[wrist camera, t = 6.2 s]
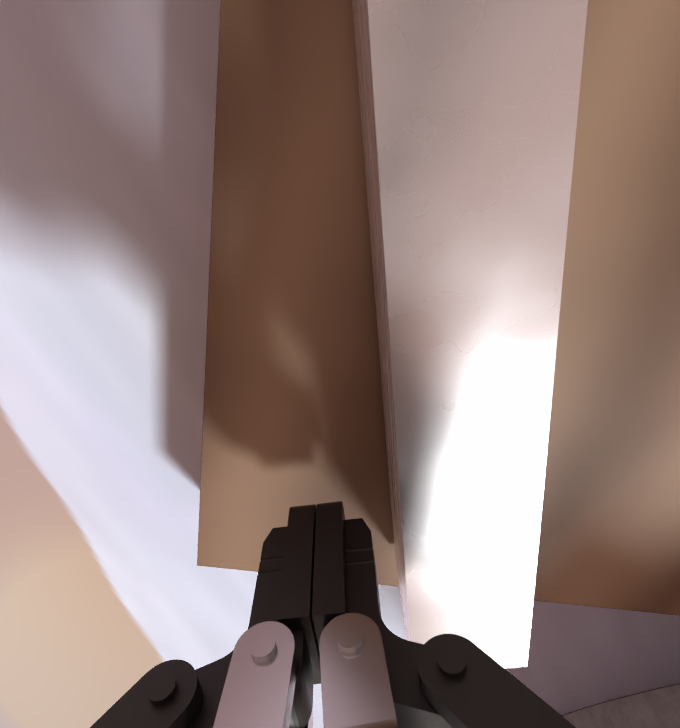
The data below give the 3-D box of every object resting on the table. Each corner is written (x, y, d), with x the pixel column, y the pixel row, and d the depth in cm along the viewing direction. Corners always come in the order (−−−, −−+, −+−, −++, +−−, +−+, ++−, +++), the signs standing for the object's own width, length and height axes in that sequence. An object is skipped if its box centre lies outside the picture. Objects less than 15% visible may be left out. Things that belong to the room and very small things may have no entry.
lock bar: (260, -378, 8) (144, -1182, 3) (575, -426, 8) (972, -1364, 3) (365, 558, 16) (377, 728, 12) (514, 546, 16) (588, 713, 11)
